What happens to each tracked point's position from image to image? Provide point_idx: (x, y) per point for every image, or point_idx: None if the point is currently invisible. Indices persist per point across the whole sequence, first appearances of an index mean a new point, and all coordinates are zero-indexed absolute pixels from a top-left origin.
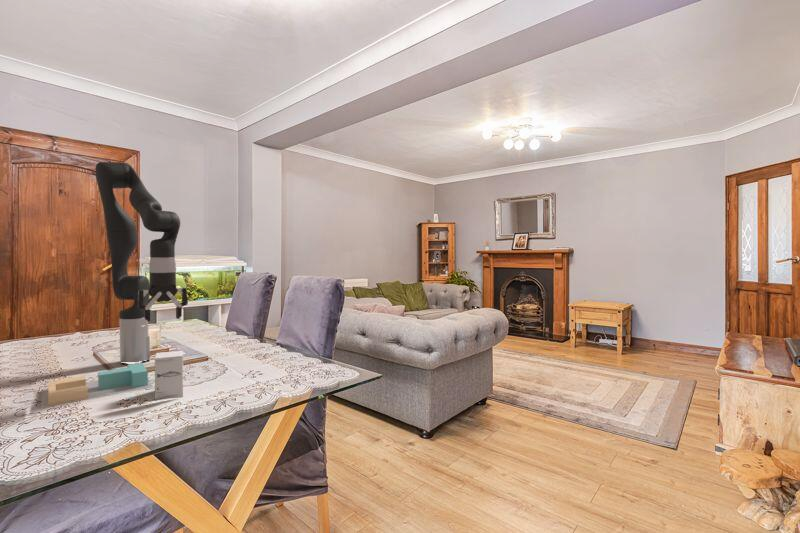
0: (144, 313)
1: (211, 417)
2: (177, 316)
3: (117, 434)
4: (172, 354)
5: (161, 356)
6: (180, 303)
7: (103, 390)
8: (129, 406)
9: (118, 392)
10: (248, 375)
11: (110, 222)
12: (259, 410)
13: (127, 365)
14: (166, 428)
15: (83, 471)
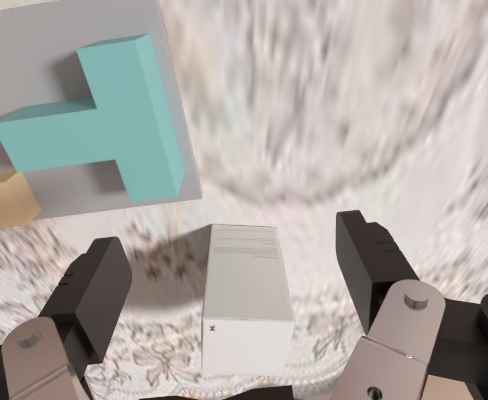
0: (52, 298)
1: (300, 374)
2: (342, 269)
3: (161, 372)
4: (254, 360)
5: (220, 366)
6: (431, 373)
7: None
8: (158, 277)
9: (111, 200)
10: (479, 191)
11: None
12: None
13: (78, 51)
14: (230, 380)
15: None
